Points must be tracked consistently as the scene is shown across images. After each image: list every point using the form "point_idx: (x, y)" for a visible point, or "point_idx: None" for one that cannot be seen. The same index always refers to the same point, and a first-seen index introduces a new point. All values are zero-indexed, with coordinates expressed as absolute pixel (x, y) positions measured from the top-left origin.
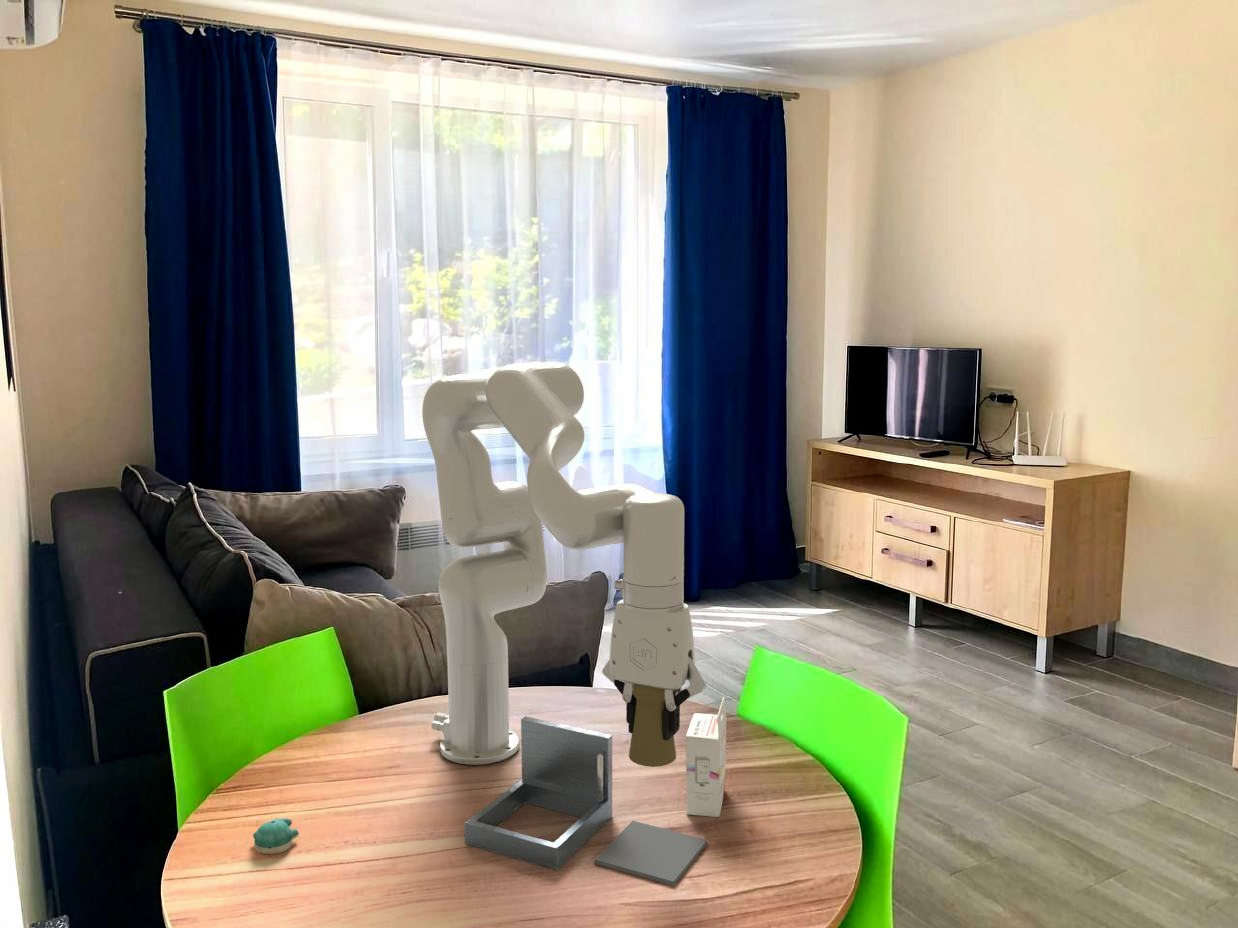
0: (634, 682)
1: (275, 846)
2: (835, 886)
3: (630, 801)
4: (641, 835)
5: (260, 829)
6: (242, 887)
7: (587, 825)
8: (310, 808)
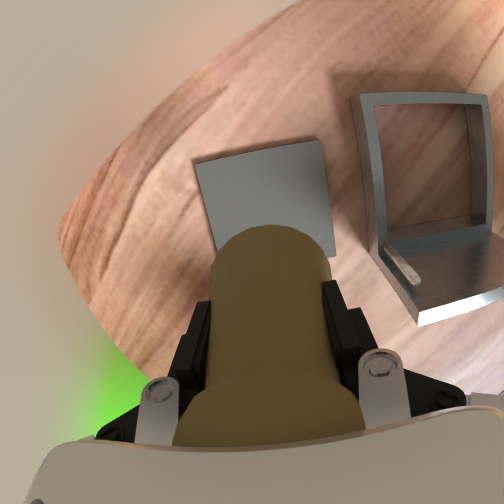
0: (324, 444)
1: None
2: (80, 279)
3: (367, 296)
4: (303, 232)
5: None
6: None
7: (370, 188)
8: None
